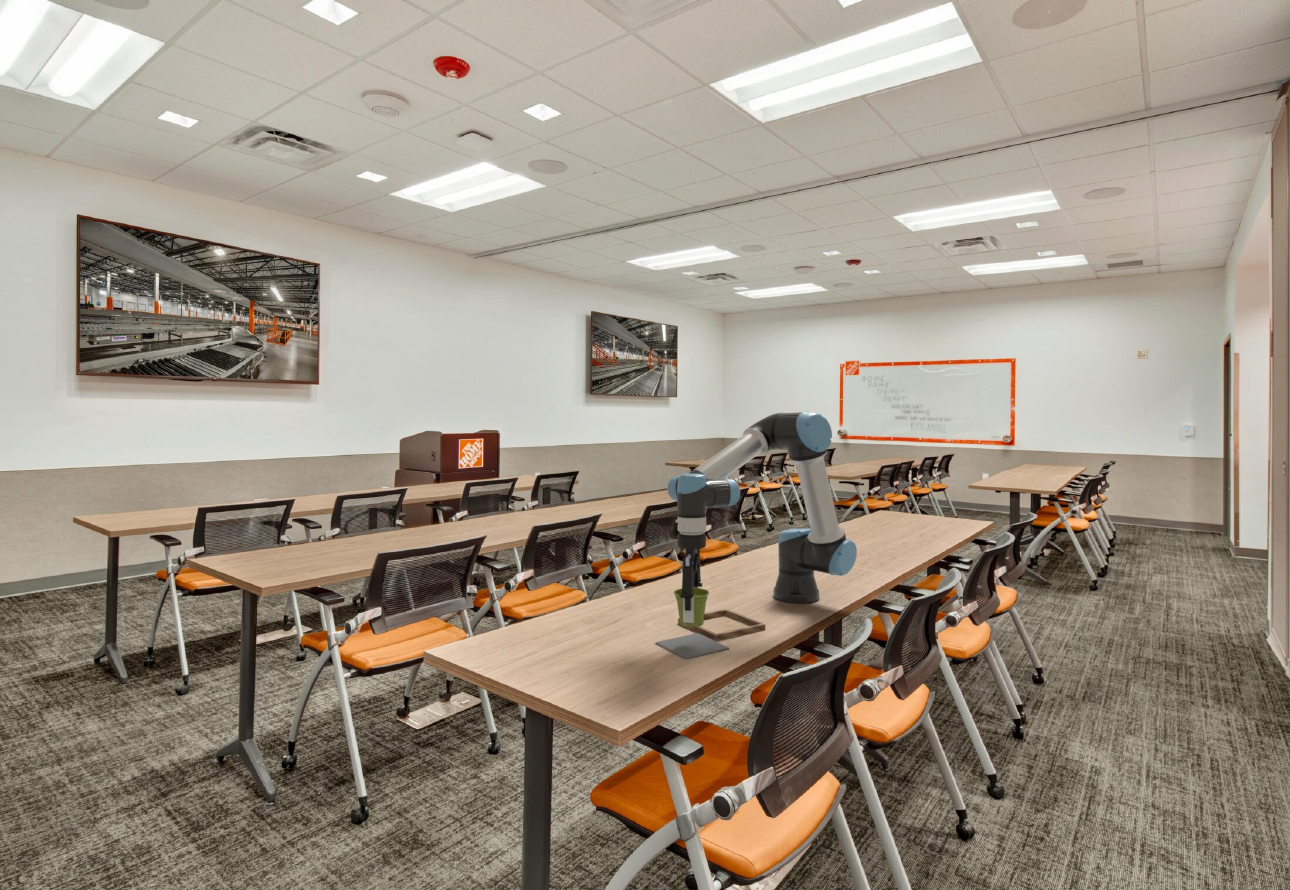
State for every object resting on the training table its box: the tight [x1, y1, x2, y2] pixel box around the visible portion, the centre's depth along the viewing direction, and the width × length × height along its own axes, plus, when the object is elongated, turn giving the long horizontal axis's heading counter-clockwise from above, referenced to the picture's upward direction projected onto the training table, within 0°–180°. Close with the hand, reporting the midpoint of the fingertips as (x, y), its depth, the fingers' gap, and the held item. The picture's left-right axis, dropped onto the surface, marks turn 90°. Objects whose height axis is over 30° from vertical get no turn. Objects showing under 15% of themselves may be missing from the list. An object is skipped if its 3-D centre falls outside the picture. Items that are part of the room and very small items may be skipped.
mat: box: [655, 632, 730, 661], centre depth 173 cm, size 14×14×1 cm
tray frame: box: [677, 608, 766, 642], centre depth 190 cm, size 18×18×2 cm
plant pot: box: [673, 587, 710, 628], centre depth 173 cm, size 9×9×9 cm
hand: (691, 616), depth 173 cm, fingers closed on plant pot, 9 cm apart
